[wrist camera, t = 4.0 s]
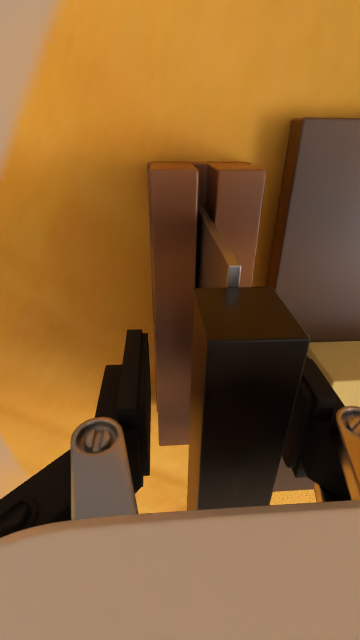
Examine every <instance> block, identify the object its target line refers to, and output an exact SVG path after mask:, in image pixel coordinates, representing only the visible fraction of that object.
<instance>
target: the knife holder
mask: <svg viewBox="0 0 360 640" xmlns="http://www.w3.org/2000/svg"><path fill="white" fill-rule="evenodd" d="M147 165H148V191H149V217H150V244H151V270H152V296H153V322H154V348H155V374H156V401H157V411H158V429H159V445H160V446H167V445H187V444H189V431H190V400H191V369H192V337H193V306H194V289H195V280H196V250H197V221H198V204H202V205H203V207H204V208H205V210H206V211H207V213H208V214H209V216H210V218H211V219H212V221H213V222H214V224H215V225H216V227H217V229H218V230H219V232H220V233H221V235H222V236H223V238H224V239H225V241H226V243H227V244H228V246H229V247H230V249H231V250H232V252H233V253H234V255H235V257H236V258H237V260H238V261H239V263H240V264H241V276H240V285H239V287H252V281H253V273H254V266H255V258H256V250H257V242H258V234H259V227H260V219H261V211H262V203H263V196H264V188H265V180H266V170H265V169H262V168H260V167H257V166H254V165H251V163H248V162H148V164H147Z"/></svg>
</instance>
